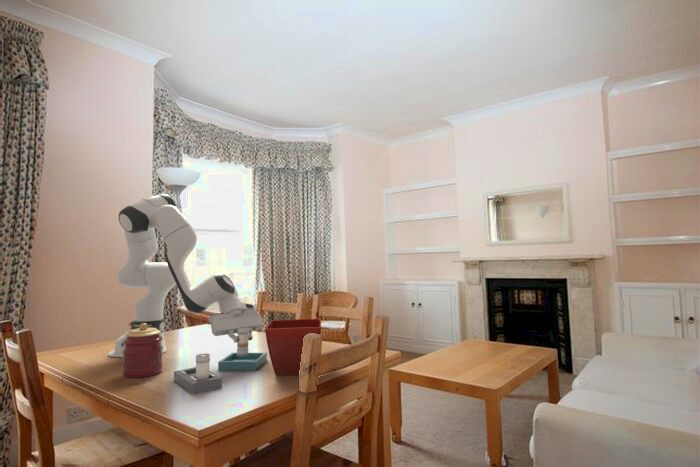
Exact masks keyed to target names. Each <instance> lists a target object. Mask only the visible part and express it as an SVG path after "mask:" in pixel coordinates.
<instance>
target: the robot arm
mask: <svg viewBox="0 0 700 467" xmlns="http://www.w3.org/2000/svg"><path fill="white" fill-rule="evenodd" d="M118 222H119V224H120V226H121V227H122V228H123V229H124V230H123V231H124V237H125V240H126V244H127V249H128V258H127V260H126V261H125V263H124V264H122V265H121V266H120V267H119V269H118V270H117V275H116V276H117V281H118V283H119V284H120V286H122V287H126V288H132V289H133V288H134V289H136V288H137V289H139V288H140V289H143V288H147V289H148V292H147V294H146V295H144V296H142V297H139V298H138V299H137V300H136V302H135V304H134V320H132V321H131V322H129V323H127V324H128V325H127V326H128V327H130V329H129V330H128V331H126V332H125V333H124V334H122V335H121V336H120V337H118V339H117V340H116V341H115V344H114V349H113V350H111V351H109V353H108V354H107V356H108V357H114V358H123V352H122V351H123V350H124V344H123V340H125V339H126V338H127V336H126V335H125V334H126V333H128V332H130V330H133V329H138V328H139V326H140V324H142V323H146V324H147V326H148V327H147V328H156V329H157V330H160V331H161V333H159V334H160V336H162V337H163V340H162V346H163V350H162V354H164V353H166V352H167V347H166V343H165V338H164V337H165V336H164V331H165V318H164V307H165V300H166V297H167V295H168V293H169V292H170V291H171V290H172V289H173V288H174V287H175V286H177V289H178V290H179V294H180V296H181V299H182V303H183V304H184V306H185V308H186V310H187V311H188V312H189V313H194V314H201V313H203V312H204V311H206V310H207V309H208V308H209V307H211V306H212V305H214V304H216V303H217V305H218V307H219V308H218V309H219V313H218V312H217V313H211V314H210V315H209V316H208V318H207V319H208V322H209V323H210V328H211V334H212V335H213V336H214V337H221V336H225V335H226V336H228V337H229V338H230V339H231V340H233V343H235V344H237V342H239V337H238V335H236V334H237V331H238V328H244V327H247V328H249V336H248V342H249V341H252V340H253V335H252V334H253V332H255V331H261V330H262V328H263V327H264V324H265V323H264V320H263V318H262V316H261V314H260V312H259V311H258V310H256V308H257V307H256V305H255V304H251V303H246V302H243V301H242V300H241V299H240V298H239V294H238V291H237V289H236V286H235V285H234V283H233V281H232V279H231V278H230V277H229V276H227V275H225V274H223V273H214V274H212V275H211V276H209V277H207V278H206V279H204V280H203V281H201V282H200V283H198V284H196V285H195V286H192V284H191V282H190V279H189V277H188V275H187V274H186V273H187V272H186V271H185V268H184V267H185V266H184V265H185V262H186V260H187V258H188V257H189V255H190V254H191V252H192V251H193V250H194V249H195V247H196V244H197V240H198V238H197V234H196V231H195V229H194V228H193V226H192V225H191V224H190V222H189V221H188V219H187V218H186V217H185V216H184V214H183V213H181V211H180V210H179V209H178V208H177V204H176V201H175V200H174V198H173V197H172V196H171V195H170V194H167V193H158V194H155V195H153V196H149V197H146V198H142V199H141V200H139V201H137V202H134V203H133V204H131V205H127V206H125V207H124V208H122V209H121V210H120V211H119V213H118ZM155 229H156V230H157V232H158V233H159V235H160V236H161V238H162V239H163V241H164V243H165V246H166V248H167V253H166V255H165V262H164V261H162V262H161V261H158V262H157V261H155V262H150V261H148V260H150V259H151V258H153V257H155V255H156V254H157V253H158V250H159V244H158V240H157V235H156V231H155Z"/></svg>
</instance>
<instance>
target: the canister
mask: <svg viewBox="0 0 700 467" xmlns="http://www.w3.org/2000/svg"><path fill="white" fill-rule="evenodd" d="M147 327H148V326H147V324H146V323H142V324H140V326H139V328H138V329H133V330H130V329H129V330H130V332H128V331H127V332H128V333H126V332H125V333H126V334H125V333H124V334H125V335H126V336H127V338H126V339H125V340H123V344H124V350H123V351H122V352H123V357H122V367H121V373H122V376H123V377H124V378H129V379H134V378H135V379H137V378H145V377H151V376H155V375H158V374H160V373H161V372H162V371H163V366H164V365H163V364H164V363H163V353H162V350H163V346H162V340H163V337H162V336H160V334H159V333H161V331H160V330H157V329H156V328H147Z"/></svg>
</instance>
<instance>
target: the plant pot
mask: <svg viewBox="0 0 700 467" xmlns="http://www.w3.org/2000/svg"><path fill="white" fill-rule="evenodd" d="M264 331H265V338H266V344H267V350H268V354H269V357H270V362H271V365H272V368H273V371H274V374H275V375H276V376H291V375H292V376H294V375H295V376H296V375H299V370H300V362H301V354H302V347H303V338H304V336H305V335H306V334H308V333H316V334H321V333H322V319H321V318H309V319H308V318H301V319H298V318H297V319H295V318H294V319H275V320H274V319H273V320H270V322H268V324H267V325H266V326H265V327H264ZM321 335H322V334H321Z"/></svg>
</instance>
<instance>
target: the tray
mask: <svg viewBox="0 0 700 467" xmlns="http://www.w3.org/2000/svg"><path fill="white" fill-rule="evenodd" d="M267 361H268V352H248V355H247V356H237V352H231V353H229V354H227V355H226V356H225V357H223V358H222V359H220V360H219V361H218V362H217V364H218V365H217V371H242V372H243V371H254V372H256V371H258V370H259V368H261V366H263V364H265V363H266V362H267Z"/></svg>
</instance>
